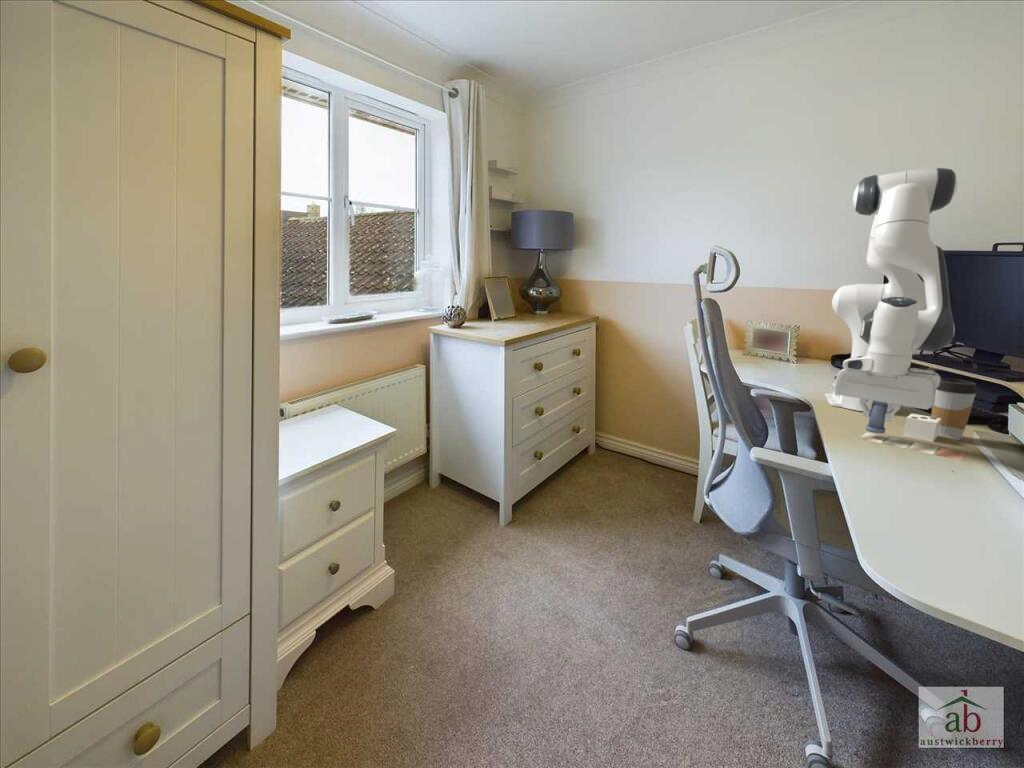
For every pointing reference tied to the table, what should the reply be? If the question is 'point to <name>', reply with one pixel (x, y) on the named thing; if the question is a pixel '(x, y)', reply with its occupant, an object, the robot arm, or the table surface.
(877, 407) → the pawn
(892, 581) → the table surface
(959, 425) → the coffee cup
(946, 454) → the board
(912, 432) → the die
